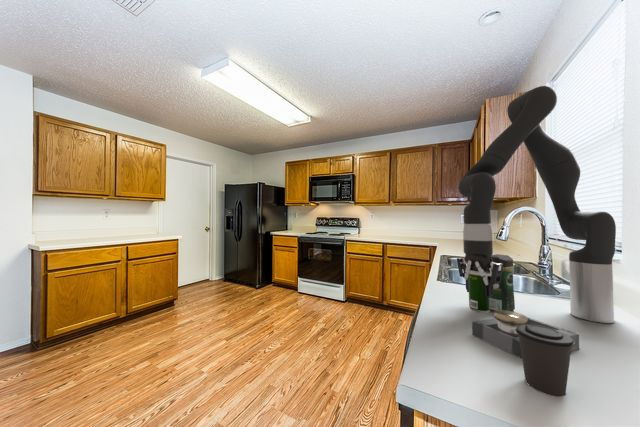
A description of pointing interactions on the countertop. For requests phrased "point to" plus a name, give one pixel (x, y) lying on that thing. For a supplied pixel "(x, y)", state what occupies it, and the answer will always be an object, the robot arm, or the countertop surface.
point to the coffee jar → (503, 285)
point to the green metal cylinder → (477, 293)
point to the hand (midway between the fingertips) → (479, 294)
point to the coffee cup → (545, 358)
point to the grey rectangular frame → (508, 343)
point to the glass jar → (509, 321)
